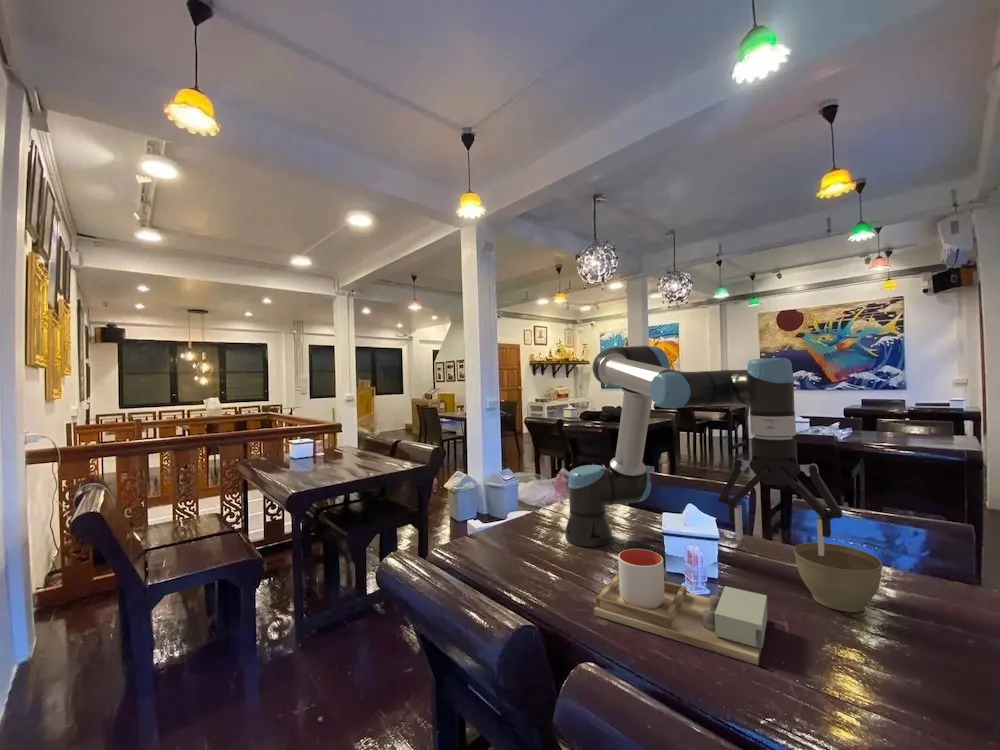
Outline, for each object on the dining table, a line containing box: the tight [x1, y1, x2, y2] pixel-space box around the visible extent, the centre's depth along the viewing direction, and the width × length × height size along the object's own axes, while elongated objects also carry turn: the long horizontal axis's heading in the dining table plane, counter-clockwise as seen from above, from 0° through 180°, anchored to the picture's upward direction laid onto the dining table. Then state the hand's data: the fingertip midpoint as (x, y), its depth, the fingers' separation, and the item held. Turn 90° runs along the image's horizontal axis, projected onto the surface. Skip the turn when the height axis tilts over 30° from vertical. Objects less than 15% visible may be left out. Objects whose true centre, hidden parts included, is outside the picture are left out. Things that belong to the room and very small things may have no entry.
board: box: [593, 572, 762, 666], centre depth 97 cm, size 18×32×4 cm, turn 55°
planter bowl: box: [793, 542, 883, 613], centre depth 100 cm, size 16×16×11 cm
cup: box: [617, 548, 665, 609], centre depth 102 cm, size 10×10×10 cm
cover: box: [715, 585, 769, 650], centre depth 90 cm, size 13×8×4 cm, turn 145°
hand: (778, 545), depth 85 cm, fingers open, 13 cm apart
